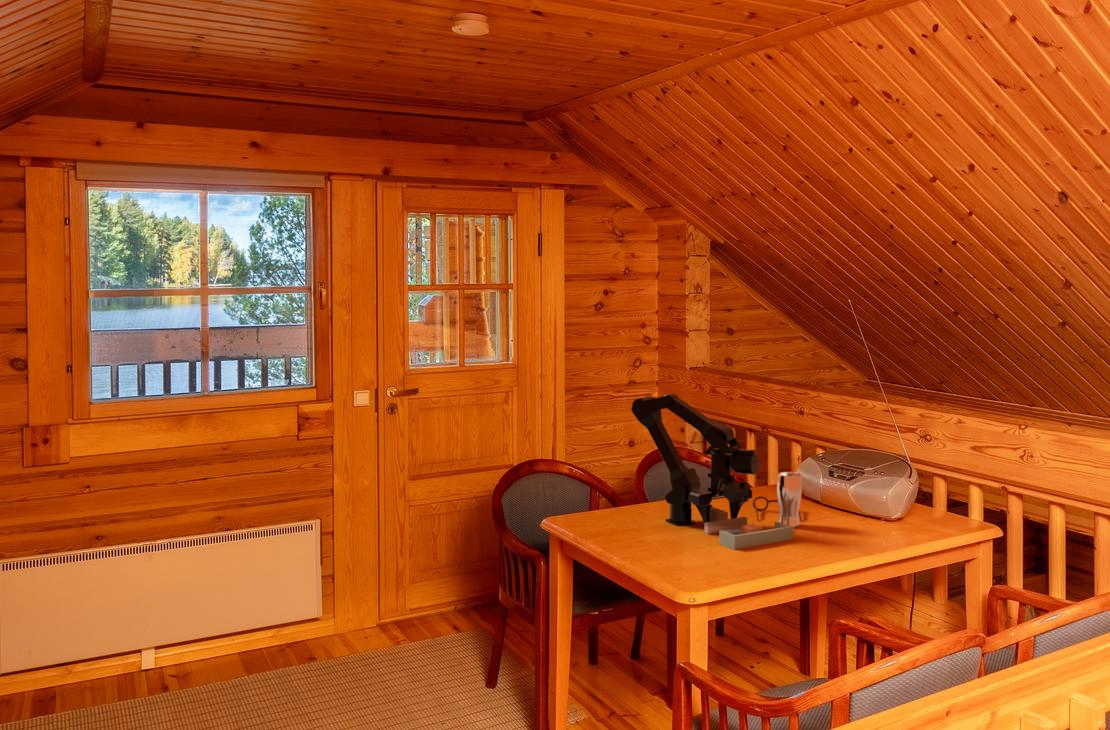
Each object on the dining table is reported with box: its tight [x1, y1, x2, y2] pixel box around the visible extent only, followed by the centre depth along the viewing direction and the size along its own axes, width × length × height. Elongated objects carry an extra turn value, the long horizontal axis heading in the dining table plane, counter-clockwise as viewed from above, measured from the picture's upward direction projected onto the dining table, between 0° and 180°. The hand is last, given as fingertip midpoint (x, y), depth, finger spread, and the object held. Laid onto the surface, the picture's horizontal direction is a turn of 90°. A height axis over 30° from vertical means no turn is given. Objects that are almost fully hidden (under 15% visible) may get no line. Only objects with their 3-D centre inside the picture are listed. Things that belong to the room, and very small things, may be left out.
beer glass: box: [776, 471, 803, 529], centre depth 284 cm, size 7×7×15 cm
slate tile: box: [721, 527, 742, 535], centre depth 272 cm, size 4×4×2 cm
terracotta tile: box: [740, 523, 763, 534], centre depth 275 cm, size 4×4×2 cm
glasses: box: [752, 495, 803, 523], centre depth 296 cm, size 13×13×5 cm
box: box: [718, 521, 794, 551], centre depth 268 cm, size 6×20×4 cm, turn 118°
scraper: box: [703, 506, 748, 535], centre depth 283 cm, size 9×14×5 cm, turn 118°
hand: (720, 524), depth 282 cm, fingers open, 9 cm apart
